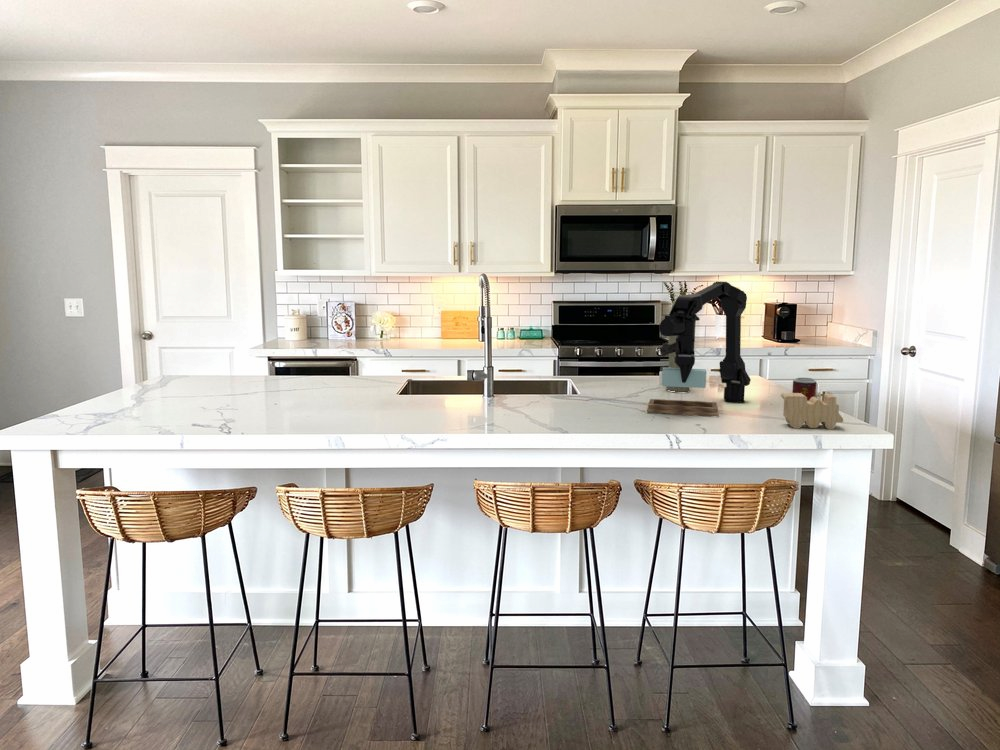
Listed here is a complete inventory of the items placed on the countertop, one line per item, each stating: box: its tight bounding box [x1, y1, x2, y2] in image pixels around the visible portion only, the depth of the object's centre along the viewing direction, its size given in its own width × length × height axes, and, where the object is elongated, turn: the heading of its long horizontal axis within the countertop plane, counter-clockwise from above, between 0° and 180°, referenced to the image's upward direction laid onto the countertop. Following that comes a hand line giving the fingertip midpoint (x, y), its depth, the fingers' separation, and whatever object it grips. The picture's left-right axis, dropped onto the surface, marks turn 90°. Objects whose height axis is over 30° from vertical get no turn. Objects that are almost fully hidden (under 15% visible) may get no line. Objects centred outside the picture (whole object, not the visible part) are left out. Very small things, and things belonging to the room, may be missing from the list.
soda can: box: [791, 377, 818, 401], centre depth 234 cm, size 7×7×12 cm
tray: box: [645, 398, 720, 417], centre depth 241 cm, size 23×13×2 cm, turn 75°
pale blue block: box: [658, 367, 707, 389], centre depth 240 cm, size 15×5×6 cm, turn 75°
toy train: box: [780, 392, 844, 430], centre depth 219 cm, size 6×17×10 cm, turn 82°
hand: (683, 381), depth 240 cm, fingers closed on pale blue block, 5 cm apart
